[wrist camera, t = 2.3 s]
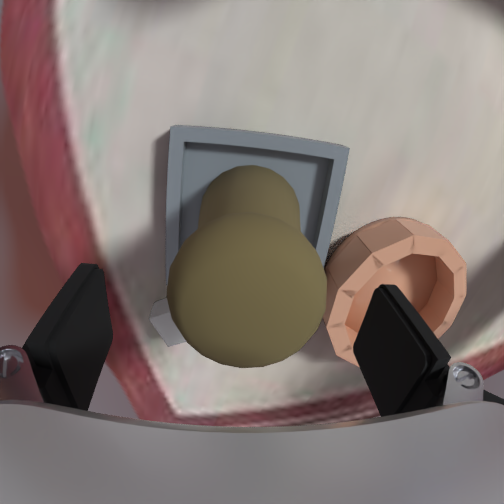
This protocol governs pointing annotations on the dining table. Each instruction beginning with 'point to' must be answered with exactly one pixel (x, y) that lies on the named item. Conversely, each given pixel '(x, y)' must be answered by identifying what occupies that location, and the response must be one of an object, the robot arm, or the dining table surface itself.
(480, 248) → the dining table surface
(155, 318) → the light grey block
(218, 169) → the tray
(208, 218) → the olive pestle
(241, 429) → the robot arm
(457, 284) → the bowl
